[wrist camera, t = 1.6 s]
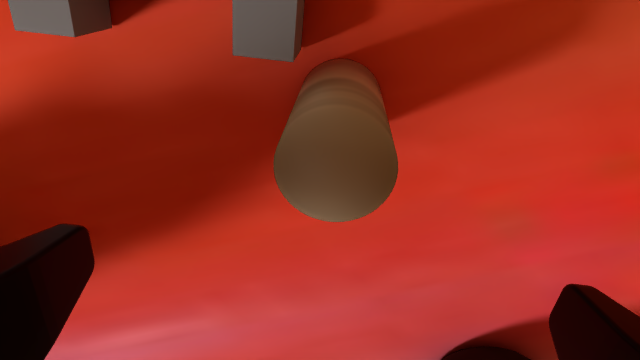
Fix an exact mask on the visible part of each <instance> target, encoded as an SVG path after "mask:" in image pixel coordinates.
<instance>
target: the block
mask: <svg viewBox="0 0 640 360" xmlns="http://www.w3.org/2000/svg"><path fill="white" fill-rule="evenodd" d="M8 3H9V7H10V11H11V15H12V19H13V23H14V28H15V30H18V31H26V32H35V33H44V34H52V35H61V36H70V37H77V36H81V35H85V34H89V33H93V32H97V31H101V30H106V29H110V28H112V23H111V16H110V8H109V1H108V0H8ZM303 14H304V0H233V55H235V56H244V57H253V58H261V59H270V60H279V61H287V62H294V60H295V58H296V57H297V55H298V53H299V52H300V50H301V41H302V27H303Z"/></svg>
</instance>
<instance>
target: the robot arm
mask: <svg viewBox="0 0 640 360" xmlns="http://www.w3.org/2000/svg"><path fill="white" fill-rule="evenodd" d="M94 262H95V261H94V255H93V251H92V246H91V241H90V236H89V232H88V230H87V229H86V228H85V227H84V226H81V225H72V224H60V225H57V226H54V227H52V228H49V229H46V230H44V231H41V232H39V233H36V234H33V235H31V236H28V237H26V238H23V239H20V240H18V241H15V242H13V243H10V244H7V245H5V246H2V247H0V360H44V359H45V357H46V356H47V354H48V353H49V351H50V350H51V348H52V346H53V345H54V343H55V341H56V340H57V338H58V336H59V334H60V333H61V331H62V329H63V327H64V325H65V323H66V321H67V319H68V318H69V316H70V314H71V312H72V310H73V308H74V306H75V304H76V303H77V301H78V299H79V297H80V295H81V293H82V291H83V289H84V288H85V286H86V284H87V282H88V280H89V278H90V276H91V274H92V272H93V269H94ZM549 328H550V332H551V335H552V339H553V342H554V345H555V349H556V352H557V355H558V359H559V360H640V317H639V316H637V315H636V314H634V313H633V312H631V311H630V310H628V309H627V308H625V307H623V306H622V305H620V304H619V303H617V302H616V301H614V300H613V299H611V298H610V297H608V296H607V295H605V294H604V293H602V292H600V291H599V290H597V289H596V288H594V287H592V286H587V285H579V284H568V285H566V286H565V287H564V288H563V290H562V292H561V294H560V296H559V298H558V300H557V302H556V304H555V306H554V308H553V310H552V312H551V314H550V317H549Z"/></svg>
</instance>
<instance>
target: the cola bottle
mask: <svg viewBox="0 0 640 360" xmlns="http://www.w3.org/2000/svg"><path fill="white" fill-rule="evenodd" d="M442 360H530V359H529V358H527V357H525V356H524V355H522V354H519V353H517V352H514V351H511V350H508V349H503V348H497V347H476V348H469V349H465V350H461V351H458V352H456V353H453V354H451V355H449V356H447V357H445V358H444V359H442Z"/></svg>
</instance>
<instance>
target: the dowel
mask: <svg viewBox="0 0 640 360" xmlns="http://www.w3.org/2000/svg"><path fill="white" fill-rule="evenodd" d="M274 174H275V179H276V182H277V185H278V187H279V189H280V191H281V192H282V194H283V196H284V197H285V198H286V199H287V201H288V202H289V203H290V204H291V205H293V206H294V207H295V208H296V209H298V210H299V211H300V212H302V213H304V214H306V215H308V216H310V217H312V218H315V219H319V220H323V221H329V222H344V221H351V220H354V219H358V218H361V217H363V216H366V215H367V214H369V213H371V212H373V211H374V210H375V209H377V208H378V207H379V206H380V205H381V204H383V203H384V201H385V200H386V199H387V198H388V196H389V195H390V193H391V192H392V190H393V188H394V185H395V182H396V179H397V174H398V160H397V154H396V150H395V146H394V142H393V138H392V134H391V130H390V126H389V122H388V118H387V114H386V111H385V107H384V103H383V99H382V95H381V91H380V87H379V84H378V82H377V80H376V78H375V77H374V75H373V74H372V73H371V72H370V70H368V69H367V68H366V67H365V66H363V65H362V64H360V63H358V62H356V61H353V60H348V59H333V60H329V61H326V62H323V63H321V64H320V65H318V66H317V67H315V68H314V69H313V70H312V71H311V72H310V73H309V74H308V75H307V77H306V79H305V80H304V82H303V85H302V87H301V90H300V92H299V94H298V97H297V99H296V102H295V104H294V107H293V109H292V111H291V114H290V116H289V119H288V121H287V124H286V126H285V129H284V131H283V133H282V136H281V138H280V141H279V143H278V146H277V148H276V152H275V155H274Z"/></svg>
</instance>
